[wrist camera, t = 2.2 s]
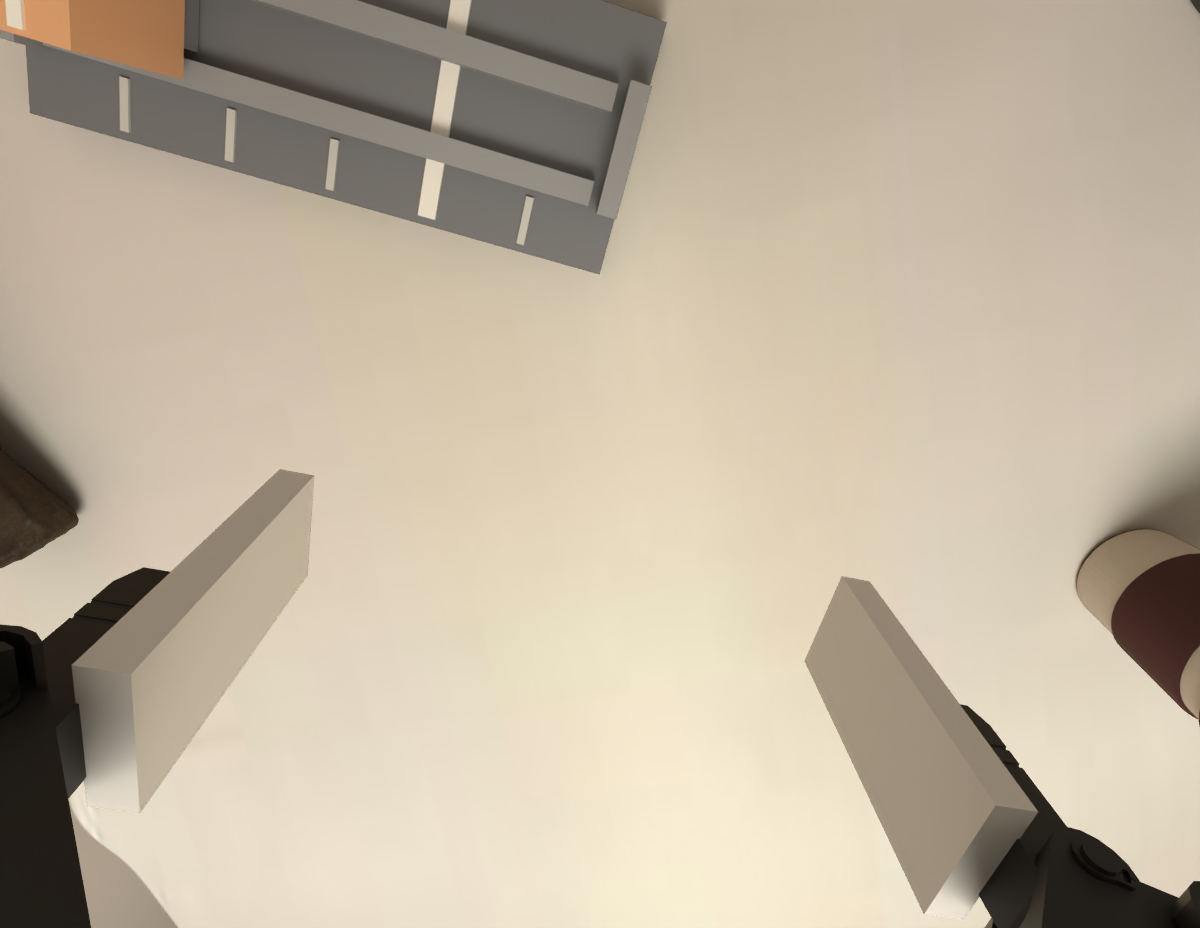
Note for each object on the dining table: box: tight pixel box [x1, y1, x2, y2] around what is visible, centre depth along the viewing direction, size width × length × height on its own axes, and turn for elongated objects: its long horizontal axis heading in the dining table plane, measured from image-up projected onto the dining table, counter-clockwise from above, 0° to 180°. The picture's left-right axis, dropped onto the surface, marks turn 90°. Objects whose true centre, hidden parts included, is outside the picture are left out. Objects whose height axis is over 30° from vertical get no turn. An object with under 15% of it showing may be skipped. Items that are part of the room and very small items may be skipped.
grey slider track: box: [0, 0, 667, 274], centre depth 31 cm, size 12×29×4 cm, turn 75°
